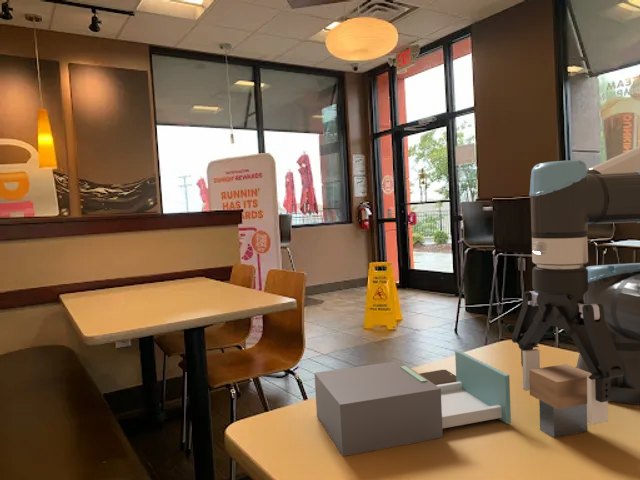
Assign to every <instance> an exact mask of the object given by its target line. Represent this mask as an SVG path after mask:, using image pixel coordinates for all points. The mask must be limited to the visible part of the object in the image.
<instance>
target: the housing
mask: <svg viewBox="0 0 640 480" xmlns="http://www.w3.org/2000/svg"><path fill="white" fill-rule="evenodd" d="M314 385H315V386H314V387H315V388H314V389H315V390H314V391H315V404H316V408H315V409H316V417H317V419H318V420H319V421H320V423H321V425H322V427H324V429H325V431H326V433H327V434H328V436H329V437H330V439H331V440H332V442H333V444H334V445H335V446H336V448H337V449H338V451H339V452H340V455H341V456H342V457H346V456H352V455H356V454H361V453H366V452H367V453H368V452H372V451H378V450H384V449H389V448H394V447H400V446H405V445H409V444H414V443H420V442H425V441H432V440H437V439H441V438H442V439H443V436H444V434H443V430H444V429H443V428H442V405H441V388H439V387H438V386H436V385H435V384H433V383H432V382H430V381H429V380H427V379H426V378H424V377H423V376H421V375H420V373H419V372H417V371H415V370H414V369H413V368H411V367H410V366H408V365H407V364H405V363H404V362H403V361H401V360H397V361H390V362H382V363H375V364H369V365H361V366H354V367H347V368H339V369H338V368H337V369H333V370H326V371H325V370H324V371H317V372H314Z"/></svg>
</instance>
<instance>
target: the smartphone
mask: <svg viewBox="0 0 640 480" xmlns="http://www.w3.org/2000/svg"><path fill="white" fill-rule="evenodd" d="M419 374H420V375H421V376H423V377H424V378H426V379H427V380H429V381H430V382H432V383H433V384H435V385H440V384H446V383H453V382H456V374H454V373H452V372H450V371H449V370H447V369H438V370H434V371H433V370H431V371H426V372H421V373H419Z"/></svg>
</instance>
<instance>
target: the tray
mask: <svg viewBox="0 0 640 480" xmlns="http://www.w3.org/2000/svg"><path fill="white" fill-rule="evenodd" d="M454 354H455V357H454V358H455V375H456V382H453V383H446V384H440V385H436V386H438V387H439V388H441V405H442V429H446V428H452V427H458V426H464V425H469V424H474V423H479V422H480V423H482V422H484V421H485V422H486V421H489V420H490V421H491V420H496V419H497V420H500V421H502V422H503V423H505V424H511V423H512V418H511V417H512V415H511V414H512V413H511V387H510V383H511V382H510V375H509V374H507V373H506V372H504V371H501V370H500V369H497V368H496V367H493V366H491V365H489V364H488V363H485V362H483V361H481V360H479V359H477V358H475V357H473V356H471V355H469V354H468V353H465V352H463V351H461V350H455V351H454Z"/></svg>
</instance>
